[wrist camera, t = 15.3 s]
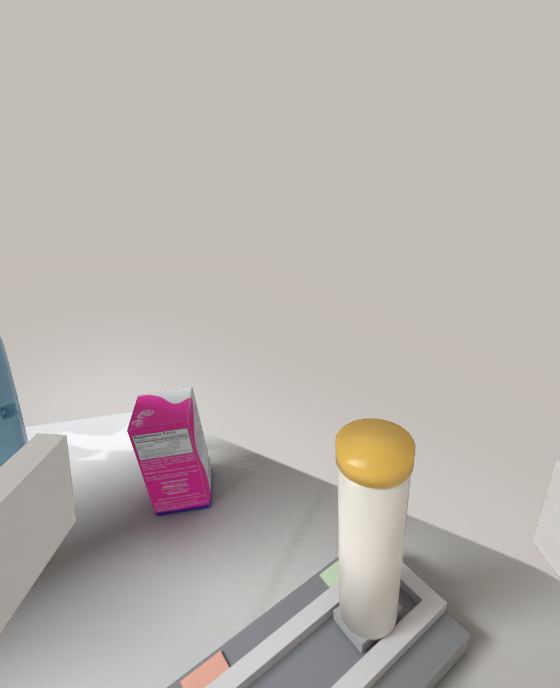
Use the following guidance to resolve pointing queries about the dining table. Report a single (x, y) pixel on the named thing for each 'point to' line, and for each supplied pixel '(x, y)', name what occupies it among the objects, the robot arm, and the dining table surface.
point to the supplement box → (171, 451)
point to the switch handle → (371, 526)
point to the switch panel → (336, 644)
